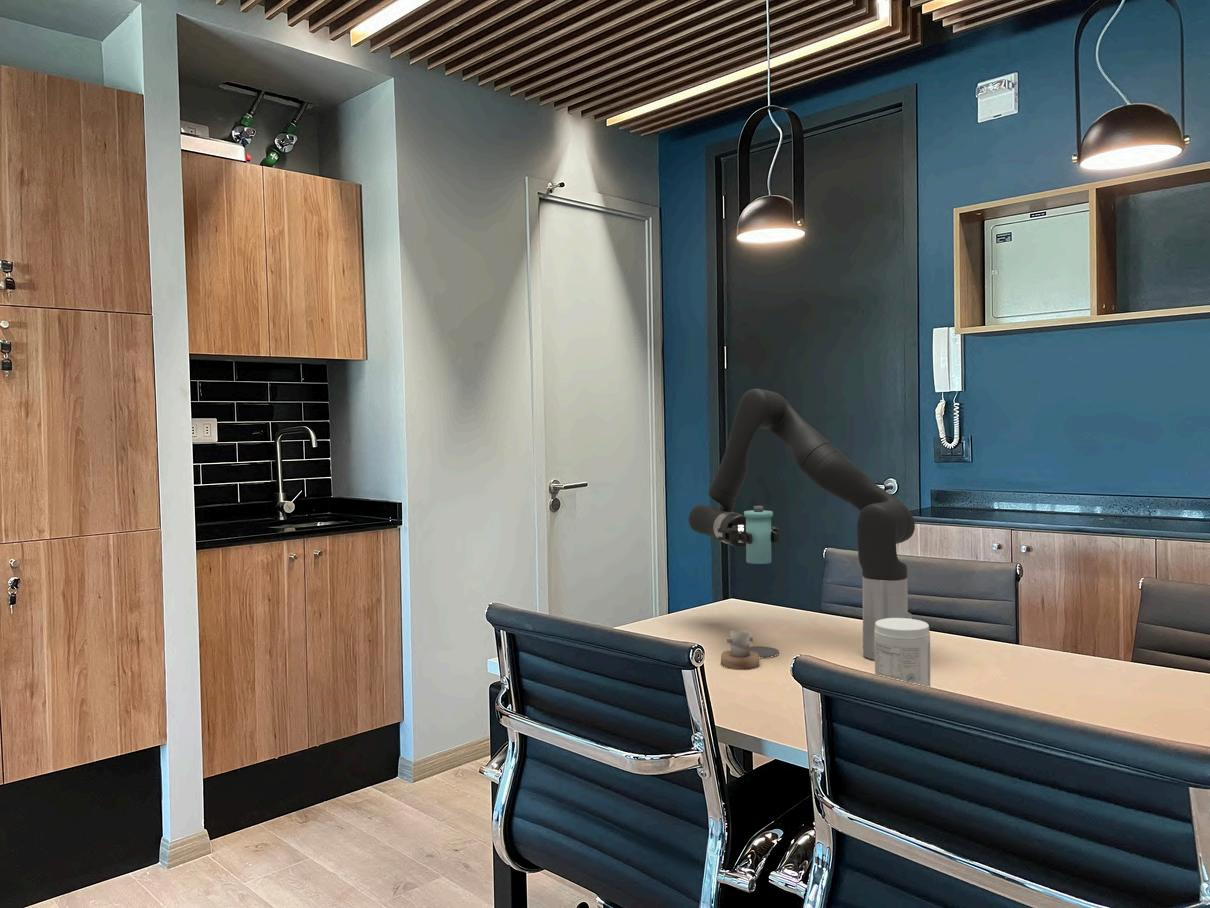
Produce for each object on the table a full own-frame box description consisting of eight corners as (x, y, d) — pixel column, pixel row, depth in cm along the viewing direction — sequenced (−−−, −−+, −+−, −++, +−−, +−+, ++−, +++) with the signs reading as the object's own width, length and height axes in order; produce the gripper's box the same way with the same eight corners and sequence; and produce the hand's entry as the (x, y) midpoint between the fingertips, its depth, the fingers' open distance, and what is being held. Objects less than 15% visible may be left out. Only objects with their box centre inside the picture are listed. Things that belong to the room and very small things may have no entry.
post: (750, 658, 196) (750, 625, 195) (765, 667, 188) (765, 634, 188) (715, 660, 194) (715, 628, 194) (729, 670, 186) (728, 637, 186)
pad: (770, 647, 204) (770, 645, 204) (785, 656, 196) (784, 653, 196) (736, 650, 202) (736, 647, 202) (750, 659, 195) (750, 656, 194)
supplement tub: (894, 692, 169) (894, 614, 169) (941, 704, 162) (941, 623, 162) (863, 703, 163) (863, 622, 163) (911, 716, 156) (910, 631, 155)
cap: (766, 558, 202) (765, 504, 201) (777, 563, 196) (777, 507, 195) (740, 560, 200) (739, 505, 200) (751, 564, 194) (750, 508, 194)
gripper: (704, 514, 210) (732, 522, 193) (762, 511, 213) (794, 519, 197) (705, 546, 210) (732, 557, 194) (762, 543, 214) (794, 553, 197)
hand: (763, 538), depth 195 cm, fingers closed on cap, 5 cm apart
